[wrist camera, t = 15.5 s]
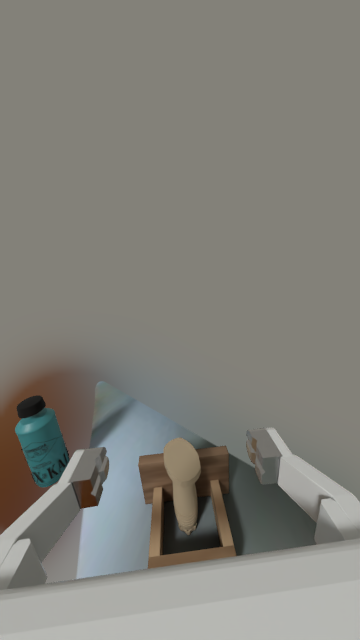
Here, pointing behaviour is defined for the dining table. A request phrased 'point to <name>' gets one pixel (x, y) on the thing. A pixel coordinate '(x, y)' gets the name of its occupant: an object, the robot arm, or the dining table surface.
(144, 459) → the wooden drawer
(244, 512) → the dining table surface
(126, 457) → the dining table surface
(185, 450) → the handle
